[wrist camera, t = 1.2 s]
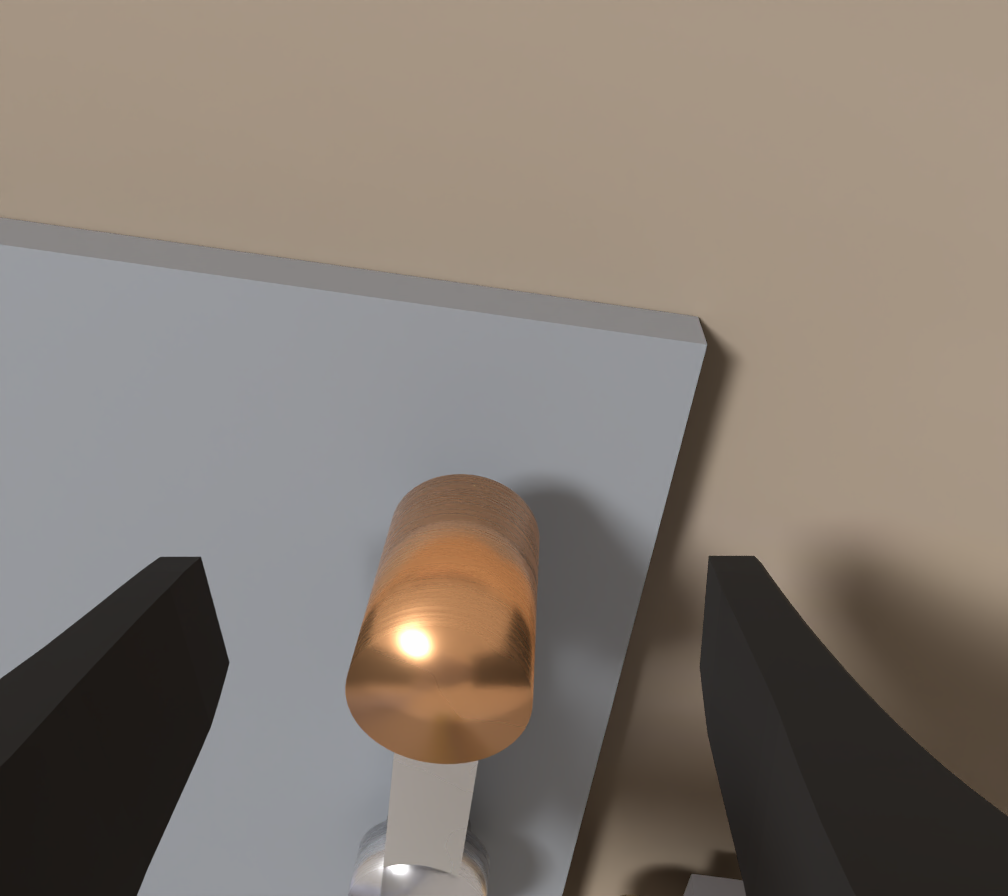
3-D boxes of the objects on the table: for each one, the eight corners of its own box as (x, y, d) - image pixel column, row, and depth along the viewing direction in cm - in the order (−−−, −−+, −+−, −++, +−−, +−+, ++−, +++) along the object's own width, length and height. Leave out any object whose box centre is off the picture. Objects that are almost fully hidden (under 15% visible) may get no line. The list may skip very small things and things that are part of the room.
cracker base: (734, 945, 25) (759, 1099, 22) (1, 849, 25) (-84, 990, 22) (994, 358, 16) (1104, 472, 13) (-158, 195, 16) (-347, 268, 13)
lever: (470, 966, 23) (449, 1194, 19) (350, 951, 23) (304, 1175, 19) (569, 449, 15) (570, 645, 11) (389, 423, 15) (323, 611, 11)
